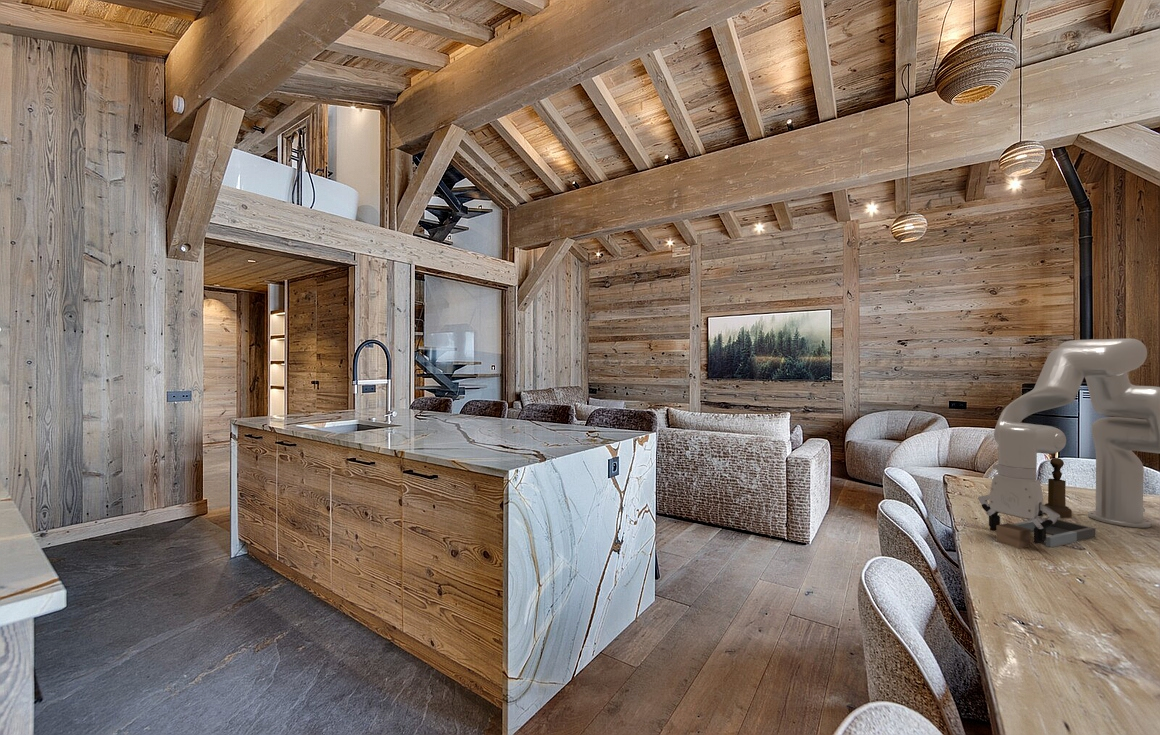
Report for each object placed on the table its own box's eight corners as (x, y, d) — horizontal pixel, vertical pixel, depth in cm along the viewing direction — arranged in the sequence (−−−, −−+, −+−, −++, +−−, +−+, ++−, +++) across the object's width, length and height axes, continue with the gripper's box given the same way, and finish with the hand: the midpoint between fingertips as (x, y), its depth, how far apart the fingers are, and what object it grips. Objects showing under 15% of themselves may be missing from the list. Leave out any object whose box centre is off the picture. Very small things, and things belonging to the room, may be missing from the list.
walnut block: (1007, 539, 128) (1007, 523, 128) (1030, 546, 123) (1030, 529, 123) (996, 541, 126) (996, 525, 126) (1019, 548, 121) (1019, 531, 121)
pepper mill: (1063, 512, 150) (1063, 457, 150) (1077, 519, 144) (1077, 461, 144) (1037, 510, 152) (1037, 455, 152) (1049, 516, 146) (1050, 459, 146)
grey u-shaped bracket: (1048, 525, 138) (1048, 517, 138) (1095, 537, 129) (1095, 528, 129) (1004, 534, 131) (1004, 525, 131) (1050, 547, 122) (1050, 537, 122)
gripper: (971, 466, 131) (970, 527, 132) (1050, 481, 115) (1049, 550, 115) (988, 464, 134) (987, 524, 134) (1067, 478, 118) (1067, 546, 118)
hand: (1016, 536), depth 125 cm, fingers open, 9 cm apart
